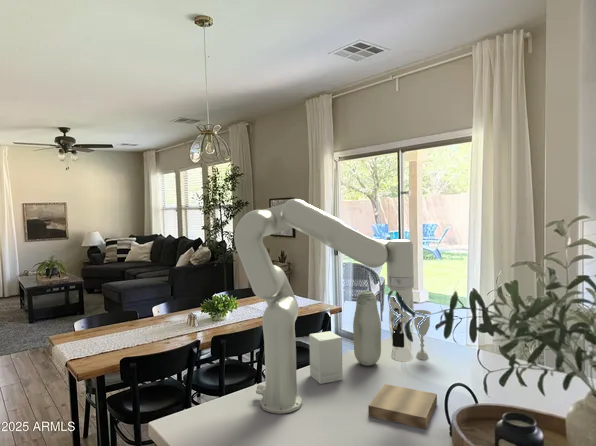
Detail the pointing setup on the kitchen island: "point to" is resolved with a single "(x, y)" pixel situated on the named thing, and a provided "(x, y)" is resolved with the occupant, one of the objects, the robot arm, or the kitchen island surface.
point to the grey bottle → (367, 329)
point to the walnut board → (403, 405)
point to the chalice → (422, 333)
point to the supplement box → (325, 357)
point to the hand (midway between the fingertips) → (401, 342)
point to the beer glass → (398, 352)
